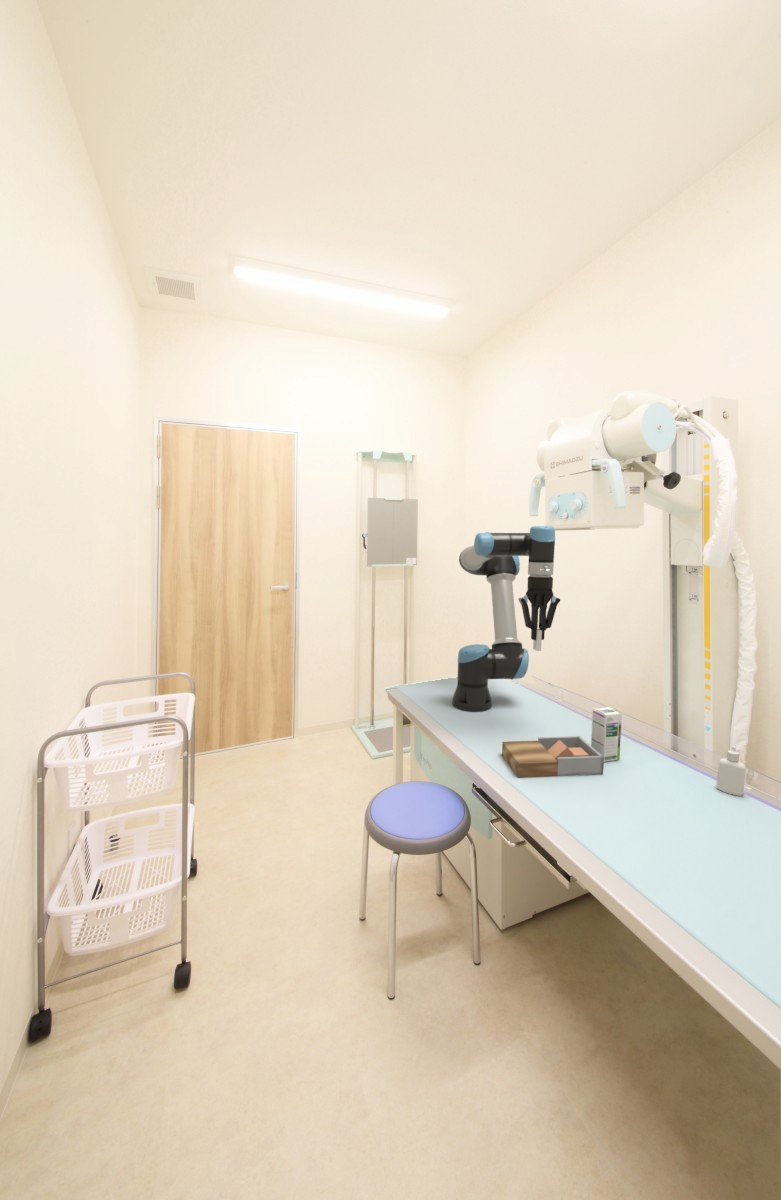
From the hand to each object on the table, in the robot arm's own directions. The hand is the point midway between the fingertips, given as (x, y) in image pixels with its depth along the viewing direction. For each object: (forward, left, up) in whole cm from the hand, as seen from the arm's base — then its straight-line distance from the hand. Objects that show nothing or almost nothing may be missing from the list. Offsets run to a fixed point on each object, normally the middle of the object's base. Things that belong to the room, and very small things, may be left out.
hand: (537, 649), depth 150 cm
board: (+18, -8, -29) cm, 36 cm away
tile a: (+18, +2, -27) cm, 33 cm away
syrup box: (+15, +16, -30) cm, 37 cm away
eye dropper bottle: (+36, +38, -30) cm, 60 cm away
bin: (+18, +4, -29) cm, 35 cm away
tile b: (+18, +6, -26) cm, 32 cm away
